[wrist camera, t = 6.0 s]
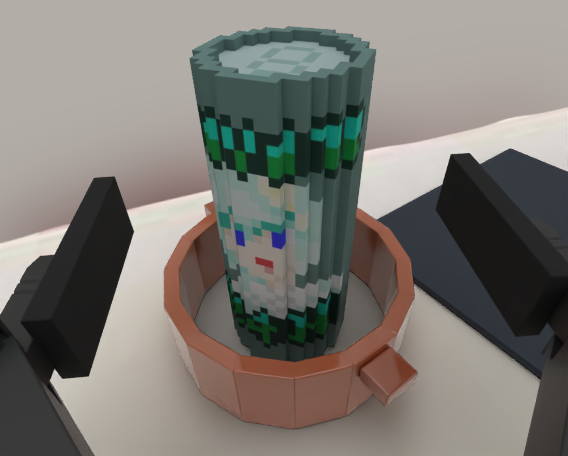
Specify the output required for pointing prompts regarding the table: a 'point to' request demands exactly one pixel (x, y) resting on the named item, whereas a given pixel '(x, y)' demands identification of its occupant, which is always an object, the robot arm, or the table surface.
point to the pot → (302, 374)
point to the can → (285, 177)
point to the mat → (453, 264)
